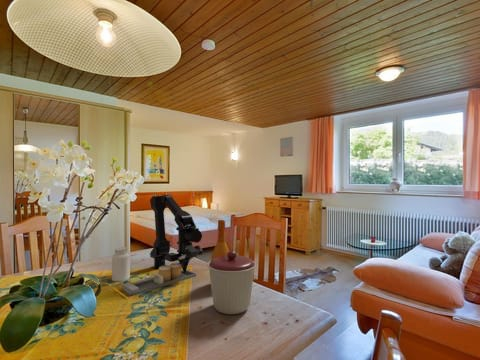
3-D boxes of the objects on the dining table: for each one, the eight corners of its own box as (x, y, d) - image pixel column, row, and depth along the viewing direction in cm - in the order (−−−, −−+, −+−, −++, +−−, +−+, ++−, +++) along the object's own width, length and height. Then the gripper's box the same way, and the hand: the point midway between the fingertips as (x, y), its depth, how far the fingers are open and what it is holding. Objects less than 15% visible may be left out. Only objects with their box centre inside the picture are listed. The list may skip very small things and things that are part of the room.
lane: (122, 290, 113) (122, 283, 113) (185, 273, 136) (185, 267, 136) (131, 297, 106) (131, 290, 106) (196, 277, 129) (196, 271, 129)
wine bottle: (236, 286, 118) (236, 219, 119) (220, 292, 111) (220, 222, 112) (221, 280, 125) (222, 217, 125) (205, 286, 118) (206, 219, 118)
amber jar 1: (156, 281, 122) (156, 267, 122) (166, 278, 126) (166, 264, 126) (162, 284, 118) (162, 270, 118) (173, 281, 122) (173, 267, 122)
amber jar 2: (167, 278, 126) (167, 264, 126) (177, 275, 130) (177, 261, 130) (173, 281, 122) (173, 267, 122) (183, 278, 126) (183, 264, 126)
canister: (263, 316, 91) (263, 255, 92) (212, 324, 86) (212, 259, 87) (247, 295, 109) (247, 244, 109) (203, 300, 104) (204, 247, 104)
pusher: (132, 287, 114) (132, 278, 114) (155, 280, 122) (155, 272, 122) (139, 291, 110) (139, 282, 110) (163, 284, 118) (163, 276, 118)
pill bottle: (107, 281, 124) (108, 249, 124) (121, 275, 131) (121, 245, 132) (120, 283, 121) (120, 251, 121) (133, 277, 128) (133, 247, 129)
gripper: (177, 245, 118) (177, 280, 117) (209, 238, 131) (209, 270, 131) (164, 242, 125) (164, 274, 125) (195, 236, 139) (195, 265, 139)
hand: (184, 271), depth 130 cm, fingers closed
